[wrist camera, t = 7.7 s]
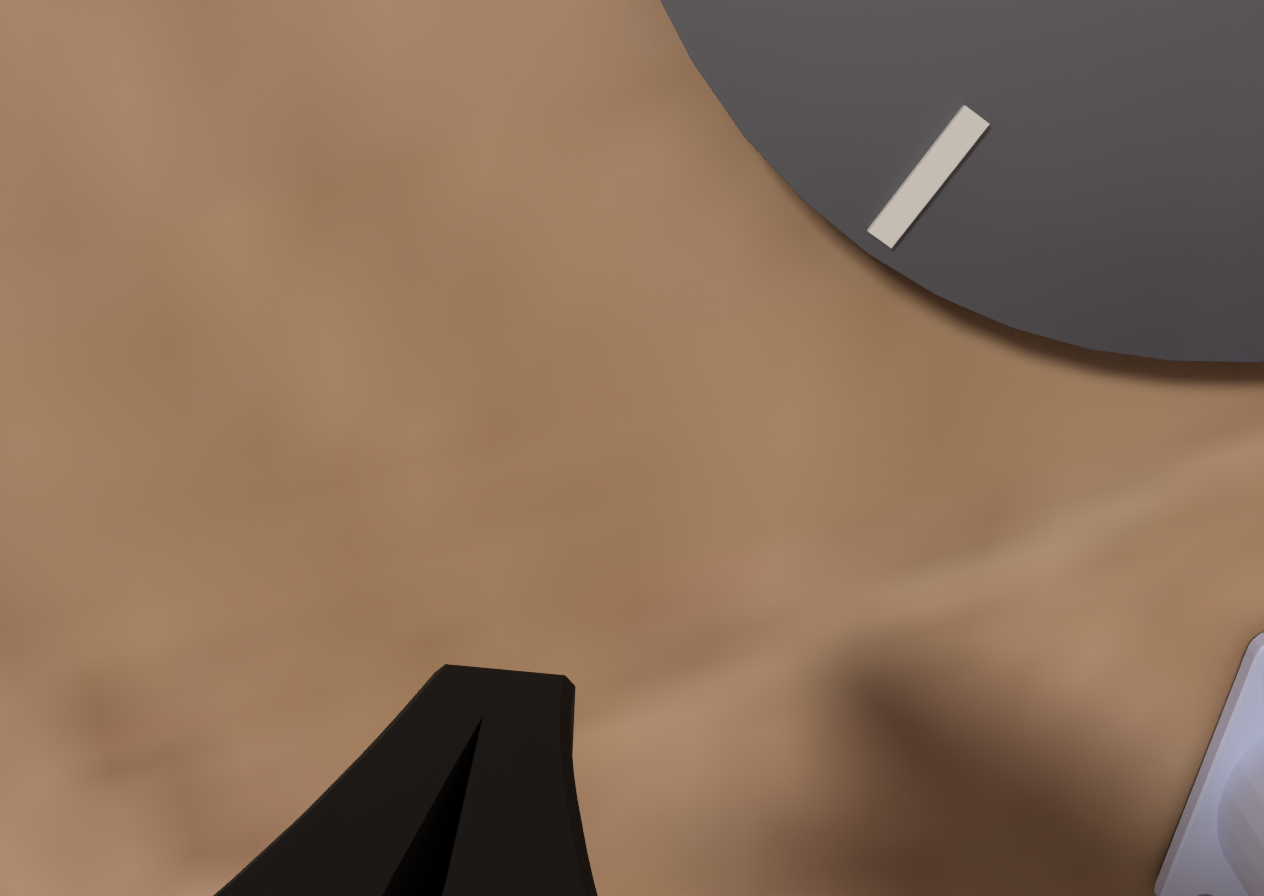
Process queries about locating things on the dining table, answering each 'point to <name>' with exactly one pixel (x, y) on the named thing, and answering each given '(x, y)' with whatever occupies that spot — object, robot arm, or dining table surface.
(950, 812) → the dining table surface
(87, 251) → the dining table surface
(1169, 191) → the tuner dial
